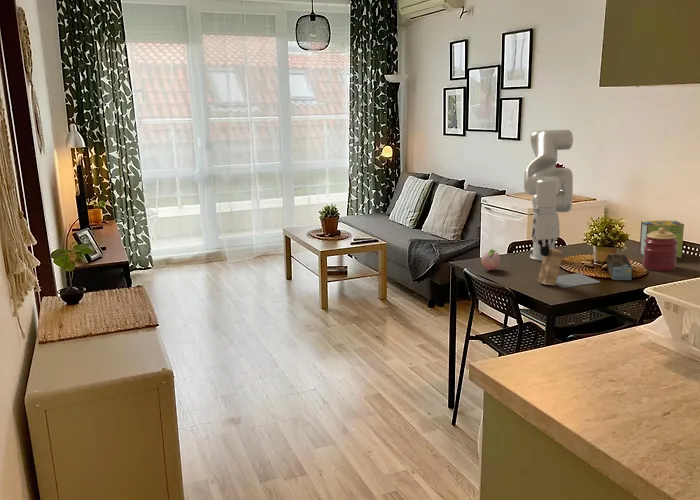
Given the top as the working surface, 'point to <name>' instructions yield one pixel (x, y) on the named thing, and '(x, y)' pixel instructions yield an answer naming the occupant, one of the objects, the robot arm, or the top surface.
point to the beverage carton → (619, 267)
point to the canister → (660, 251)
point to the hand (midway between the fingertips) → (544, 255)
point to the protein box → (669, 226)
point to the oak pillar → (550, 267)
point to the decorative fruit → (491, 259)
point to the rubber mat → (574, 280)
